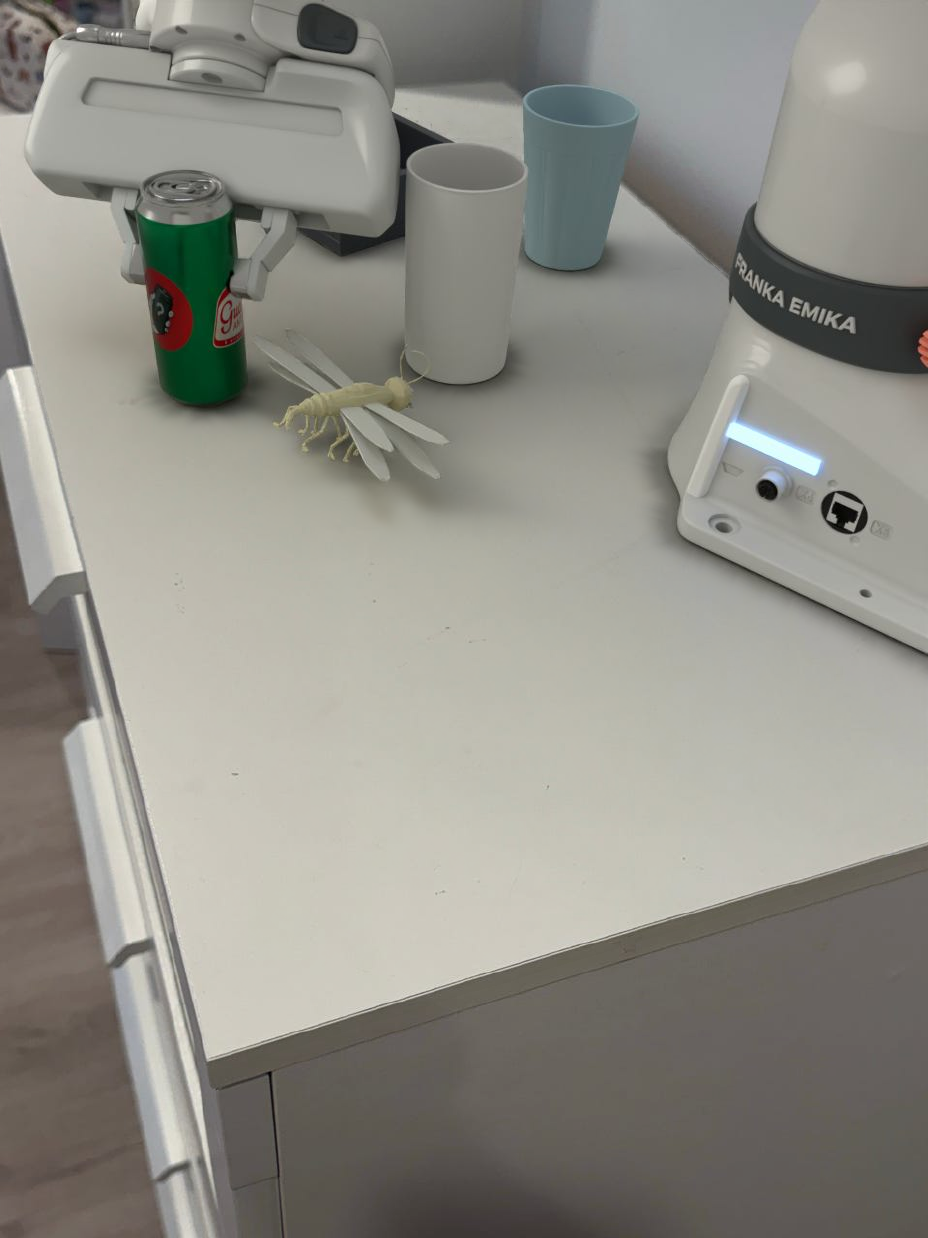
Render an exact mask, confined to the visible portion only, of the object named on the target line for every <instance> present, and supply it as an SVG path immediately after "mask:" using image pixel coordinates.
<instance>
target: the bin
mask: <svg viewBox="0 0 928 1238" xmlns="http://www.w3.org/2000/svg"><path fill="white" fill-rule="evenodd" d="M392 114H393V117H394V121H395V125H396V129H397V133H398V137H399V143H400V183H399V195H398V204H397V211H396V217H395V220H394V223H393V224H392V225H391V226H390V227H389V228H388V229H387V230H386V231H385V232H384V233H383V234H381V235H380V236H379V237H367V236H360V235H352V234H345V233H337V232H330V231H322V230H315V229H307V228H300V227H297V230H296V231H299V232H300V233H302V234H304V235H305V236H307V237H309V238H310V239H312V240H314V241H315V242H317V243H319V245H322V246H324V247H325V248H326V249H328V250H330V251H332V252H333V253H335V254H336V255H338V256H340V257H343V256H345V255H349V254H351V253H354V252H358V251H361V250H364V249H366V248H370V247H373V246H375V245H378V244H382V243H385V242H388V241H391V240H394V239H397V238H400V237H404V236H405V200H406V171H407V167H406V163H407V160H408V158H409V157H410V156H411V155H412V154H413V153H414V152H416V151H417V150H420V149H422V148H425V147H428V146H432V145H437V144H443V143H456V142H455V141H453V140H452V139H449V138H447V137H445V136H444V135H442V134H439V133H437V132H435V131H433V130H431V129H429V128H427V127H425V126H422V125H421V124H418V123H417V122H414V121H412V120H410V119H408V118H406V117H404V116H402V115H401V114H398V113H396V112H394V111H392Z"/></svg>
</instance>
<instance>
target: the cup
mask: <svg viewBox="0 0 928 1238" xmlns="http://www.w3.org/2000/svg"><path fill="white" fill-rule="evenodd" d="M639 116H640V107H639V106H638V105H637V103H635V102H634V101H633V100H632V99H630V98H629V97H627V96H625V95H624V94H621V93H619V92H616V91H613V90H609V89H606V88H603V87H602V88H601V87H598V86H597V87H596V86H590V85H581V84H554V85H553V84H552V85H546V86H542V87H538V88H535V89H532V90H530V91H529V92H527V93H526V94H525V95H524V97H523V98H522V130H523V131H522V132H523V133H522V134H523V162H524V163H525V164H526V166H527V168H528V178H527V191H526V201H525V209H524V218H523V225H524V227H523V228H524V230H523V231H524V253H525V255H526V256H527V257H528V258H529V259H530V260H531V261H532V262H534V263H536V264H537V265H540V266H542V267H545V268H548V269H552V270H558V271H581V270H585V269H588V268H592V267H594V266H595V265H596V264H598V262H599V261H600V260H601V259H602V255H603V252H604V247H605V245H606V240H607V237H608V233H609V230H610V225H611V222H612V218H613V214H614V210H615V207H616V202H617V199H618V195H619V192H620V187H621V185H622V181H623V176H624V172H625V169H626V166H627V161H628V157H629V154H630V150H631V146H632V142H633V139H634V135H635V131H636V128H637V123H638V120H639Z"/></svg>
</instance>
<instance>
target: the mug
mask: <svg viewBox="0 0 928 1238" xmlns="http://www.w3.org/2000/svg"><path fill="white" fill-rule="evenodd" d="M406 167H407V171H406V200H405V235H404V236H405V237H404V242H405V243H404V244H405V245H404V247H405V248H404V264H405V265H404V347H405V346H406V343H407V344H408V346H407V347H406V349H405V348H404V349H405V352H404V356H405V360H406V363H407V364H408V365H409V368H411V369H412V370H413V371H414V372H416V373H417V375H420V376H422V375H423V374H425V373H426V372H427V371H426V370H428V369H429V368H428V367H430V369H429V370H428V372H427V373H426V375H424V376H423V377H424V378H426V379H429V380H432V381H435V382H439V383H442V384H450V385H470V384H476V383H480V382H481V383H482V382H484V381H488V380H490V379H492V378H493V377H496V375H498V374H499V373H500V372H501V371H502V370H503V368H504V367H505V364H506V359H507V354H508V348H509V347H508V346H509V341H510V334H511V325H512V316H513V309H514V300H515V299H514V298H515V289H516V282H517V276H518V275H517V273H518V267H519V257H520V249H521V242H522V233H523V225H524V209H525V201H526V191H527V178H528V168H527V166H526V164H525V163H524V160H522V158H520V157H518V156H517V155H515V154H514V153H511V152H509V151H507V150H505V149H501V148H499V147H496V146H495V147H494V146H491V145H486V144H480V143H473V142H455V143H443V144H437V145H432V146H428V147H425V148H422V149H420V150H417V151H416V152H414V153H413V154H412V155H411V156H410V157H409V158H408V160H407V163H406ZM414 351H420V352H422V353H424V354H425V355H426V356H427V357H428V359H429V361H428V360H427V358H426V357H425V356H424V355H422V354H421V353H419V352H414ZM428 362H430V366H428ZM427 368H428V369H427ZM425 371H426V372H425ZM424 372H425V373H424Z"/></svg>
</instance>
